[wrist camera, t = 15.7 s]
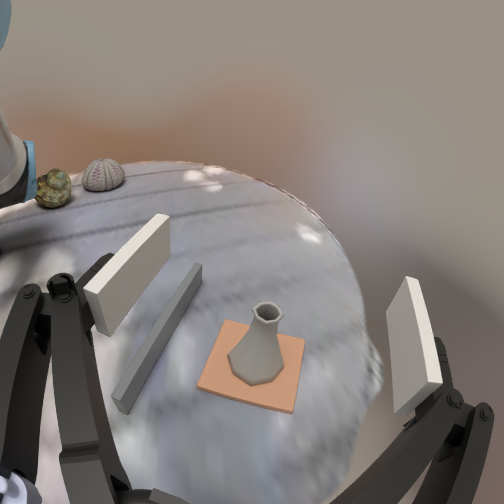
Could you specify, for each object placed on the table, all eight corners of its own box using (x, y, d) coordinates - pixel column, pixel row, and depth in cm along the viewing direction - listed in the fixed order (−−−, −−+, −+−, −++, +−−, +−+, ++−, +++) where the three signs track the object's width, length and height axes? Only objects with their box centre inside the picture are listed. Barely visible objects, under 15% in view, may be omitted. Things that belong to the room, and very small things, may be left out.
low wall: (127, 414, 29) (119, 400, 26) (119, 410, 29) (110, 396, 26) (201, 282, 50) (202, 264, 48) (194, 281, 50) (195, 262, 48)
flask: (248, 395, 33) (261, 348, 27) (217, 354, 37) (221, 301, 32) (293, 369, 37) (314, 320, 31) (260, 334, 41) (273, 281, 36)
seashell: (62, 191, 72) (58, 159, 66) (79, 202, 68) (74, 166, 62) (32, 204, 64) (26, 171, 59) (46, 217, 60) (39, 180, 54)
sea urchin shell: (106, 197, 71) (104, 169, 67) (73, 190, 73) (70, 165, 69) (133, 180, 82) (132, 154, 78) (100, 174, 84) (99, 151, 79)
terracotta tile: (291, 413, 32) (292, 411, 32) (196, 388, 34) (196, 385, 33) (303, 342, 42) (305, 339, 41) (224, 322, 43) (225, 319, 43)
